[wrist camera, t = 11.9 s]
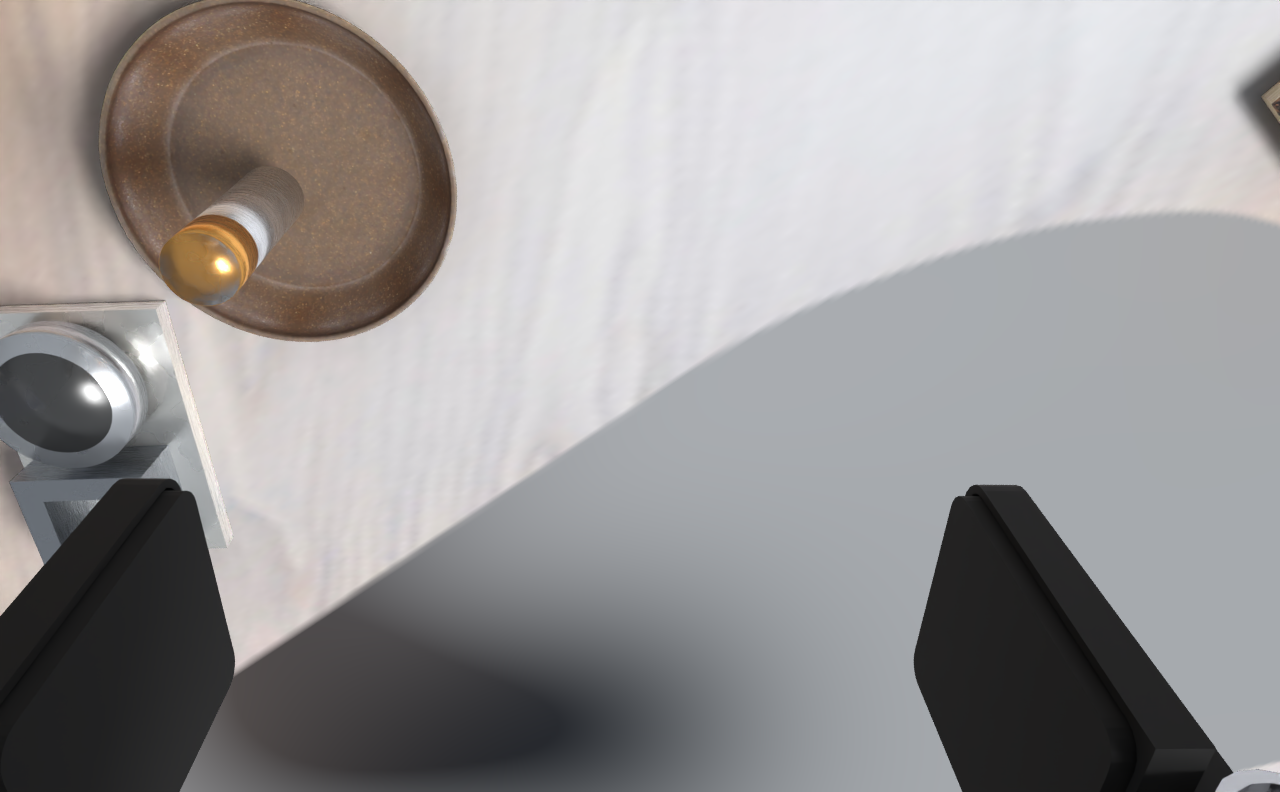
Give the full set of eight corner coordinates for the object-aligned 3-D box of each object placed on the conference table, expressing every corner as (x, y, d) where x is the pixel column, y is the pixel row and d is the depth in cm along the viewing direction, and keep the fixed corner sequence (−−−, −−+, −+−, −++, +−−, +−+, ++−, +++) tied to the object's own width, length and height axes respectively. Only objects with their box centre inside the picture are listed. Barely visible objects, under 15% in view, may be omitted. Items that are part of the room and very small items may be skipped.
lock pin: (231, 170, 37) (146, 238, 29) (294, 161, 37) (225, 227, 29) (252, 230, 38) (175, 311, 30) (312, 221, 38) (252, 300, 30)
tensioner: (-26, 306, 42) (-84, 341, 38) (165, 301, 42) (125, 334, 39) (69, 542, 49) (27, 590, 45) (233, 536, 49) (204, 584, 45)
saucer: (387, -56, 36) (371, -56, 33) (509, 274, 43) (503, 294, 40) (60, 49, 37) (23, 57, 35) (229, 353, 44) (207, 377, 42)
